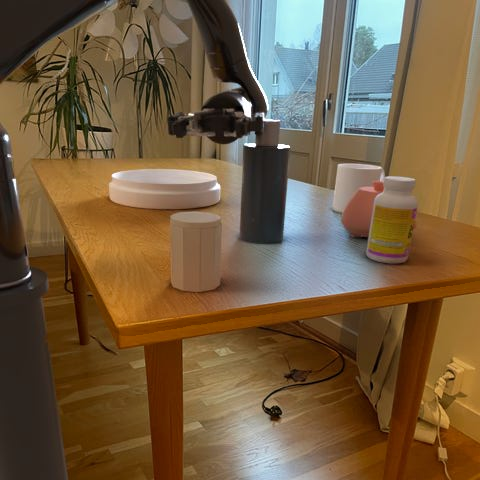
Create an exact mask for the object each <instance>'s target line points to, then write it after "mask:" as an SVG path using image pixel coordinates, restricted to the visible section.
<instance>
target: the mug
mask: <svg viewBox="0 0 480 480" xmlns="http://www.w3.org/2000/svg"><path fill="white" fill-rule="evenodd" d="M385 173H386V172H385V169H383V167H382V166H379V165H373V164H365V163H338V164H337V169H336V176H335V186H334V194H333V201H332V210H333V211H334V212H335V213H338V214H343V211H344V209H345V207H346V205H347V203H348V202H349V200H350V199H351V197H352V196H353V195H354V194H355V192H356V191H357V190H358V189H359V188H361V187H374V185H373V181H384V178H385V177H386V174H385Z"/></svg>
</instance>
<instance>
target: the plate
mask: <svg viewBox="0 0 480 480" xmlns="http://www.w3.org/2000/svg"><path fill="white" fill-rule="evenodd" d="M108 191H109V193H108V195H109V199H110V201H111V202H113V203H115V204H118V205H121V206H125V207H131V208H138V209H148V210H191V209H200V208H205V207H211V206H213V205H216V204H218V203H219V202H220V201H221V185H220V184H219V183H218V177H217V175H214V174H212V173H208V172H205V171H204V172H203V171H198V170H197V171H196V170H190V169H189V170H187V169H175V168H174V169H173V168H142V169H141V168H140V169H139V168H138V169H129V170H128V169H127V170H122V171H117V172H114V173H112V174H111V180H110V182H109V183H108Z"/></svg>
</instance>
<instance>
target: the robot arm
mask: <svg viewBox="0 0 480 480" xmlns="http://www.w3.org/2000/svg"><path fill="white" fill-rule="evenodd" d="M119 1H120V0H0V86H1V85H2V84H3V83H4V82H5V81H6V80H7V79H9V78H10V77H11V76H12V74H14V73H15V72H16V71H17V70H18V69H19V68H20V67H22V65H24V64H25V63H26V62H27V61H28V60H29V59H31V58H32V56H34V55H35V54H36V53H37V52H38V51H40V50H41V49H42V48H43V47H45V46H46V45H47V44H49V43H50V42H52V41H53V40H55V39H57V38H59V37H61V36H63V35H66V34H67V33H70V32H71V31H73V30H74V29H76V28H78V27H80V26H81V25H83V24H85V23H86V22H88V21H90V20H91V19H93V18H95V17H97V16H98V15H99V14H102V13H103V12H104V11H106V10H107V9H109V8H110V7H112V6H113V5H115V4H116V3H117V2H119ZM186 2H187V5H188V7H189V9H190V11H191V14H192V17H193V19H194V21H195V24H196V28H197V30H198V33H199V36H200V39H201V43H202V46H203V49H204V52H205V55H206V59H207V62H208V66H209V70H210V71H211V74H212V77H213V79H214V80H215V81H217V82H218V83H225V84H226V83H227V84H237V85H238V87H235V88H232V89H227V90H223V91H221V92H218V93H216V94H214V95H212V96H211V97H209V98H208V99H206V101H205V102H204V103H203V105H202V107H201V109H200V110H197V111H189V112H188V115H186V113H185V112H183V111H179V112H177V113H174V114H171V115H169V116H166V120H167V121H166V122H167V133H168V135H170V136H175V138H176V139H182V138H185V136H189V135H190V137H196V138H199V137H206V138H207V139H208V140H210V141H211V142H213V143H215V144H218V145H230V144H232V143H234V142H236V141H237V140H238V139H242V138H243V137H248V136H250V135H251V133H252V132H254V135H255V136H256V135H258V136H260V135H262V134H263V131H264V120H266V117H267V115H268V111H269V104H268V99H267V96H266V94H265V92H264V90H263V88H262V86H261V84H260V83H259V81H258V80H257V78H256V76H255V74H254V72H253V70H252V68H251V65H250V62H249V59H248V57H247V52H246V47H245V43H244V40H243V36H242V32H241V28H240V25H239V22H238V20H237V17H236V16H235V14H234V12H233V9H232V8H231V6H230V5H229V3H228V2H227V0H186ZM187 127H189V128H188V129H187ZM18 189H19V188H18V182H17V175H16V168H15V162H14V156H13V149H12V143H11V138H10V135H9V133H8V131H7V130H6V128H5V127H4V126H3V124H2V123H1V122H0V290H5V289H10V288H14V287H17V286H20V285H23V284H25V283H27V282H28V281H29V280H30V279H31V271H30V269H29V267H31V266H30V261H29V254H28V252H29V251H28V247H27V242H26V236H25V228H24V222H23V215H22V209H21V203H20V197H19V190H18Z"/></svg>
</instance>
